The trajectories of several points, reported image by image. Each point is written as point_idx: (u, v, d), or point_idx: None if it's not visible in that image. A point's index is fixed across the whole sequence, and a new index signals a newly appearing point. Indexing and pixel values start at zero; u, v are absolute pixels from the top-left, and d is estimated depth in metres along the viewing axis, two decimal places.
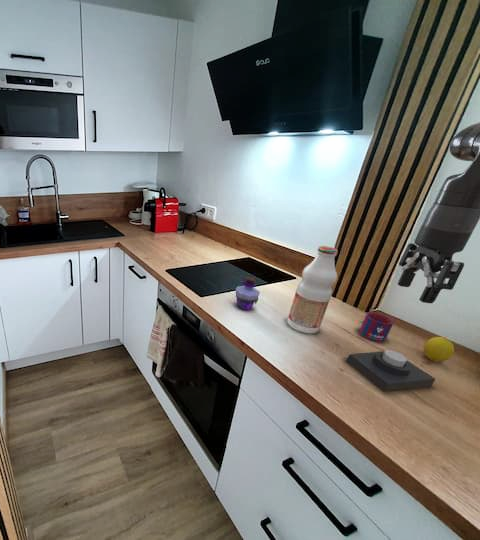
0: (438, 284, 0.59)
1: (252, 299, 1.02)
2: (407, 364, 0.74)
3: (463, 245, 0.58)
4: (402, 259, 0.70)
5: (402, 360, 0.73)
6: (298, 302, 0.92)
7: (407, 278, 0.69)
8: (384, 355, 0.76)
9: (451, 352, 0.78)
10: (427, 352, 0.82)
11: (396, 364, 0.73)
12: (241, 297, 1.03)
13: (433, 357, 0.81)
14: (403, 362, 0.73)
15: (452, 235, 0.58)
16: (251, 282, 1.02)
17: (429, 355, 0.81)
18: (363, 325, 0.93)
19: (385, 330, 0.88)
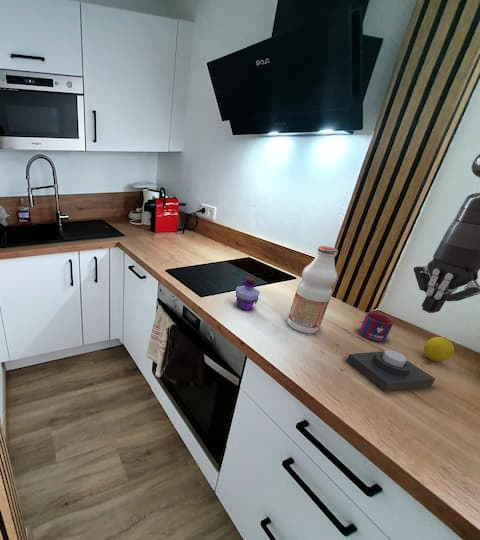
0: (450, 298, 0.64)
1: (252, 299, 1.02)
2: (407, 364, 0.74)
3: None
4: (420, 283, 0.69)
5: (402, 360, 0.73)
6: (298, 302, 0.92)
7: None
8: (384, 355, 0.76)
9: (451, 352, 0.78)
10: (427, 352, 0.82)
11: (396, 364, 0.73)
12: (241, 297, 1.03)
13: (433, 357, 0.81)
14: (403, 362, 0.73)
15: None
16: (251, 282, 1.02)
17: (429, 355, 0.81)
18: (363, 325, 0.93)
19: (385, 330, 0.88)
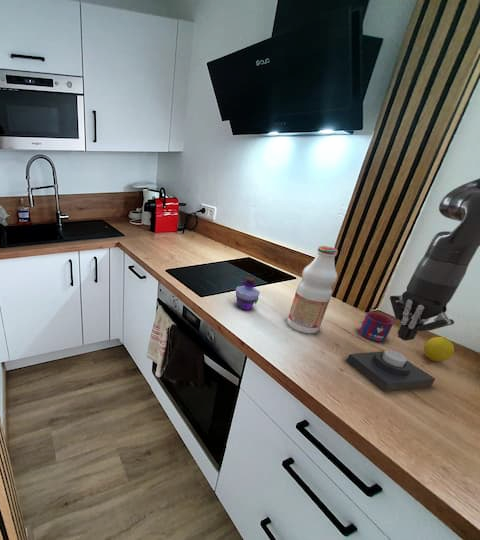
0: (422, 328, 0.68)
1: (252, 299, 1.02)
2: (407, 364, 0.74)
3: None
4: (396, 312, 0.73)
5: (402, 360, 0.73)
6: (298, 302, 0.92)
7: None
8: (384, 355, 0.76)
9: (451, 352, 0.78)
10: (427, 352, 0.82)
11: (396, 364, 0.73)
12: (241, 297, 1.03)
13: (433, 357, 0.81)
14: (403, 362, 0.73)
15: (449, 288, 0.63)
16: (251, 282, 1.02)
17: (429, 355, 0.81)
18: (363, 325, 0.93)
19: (385, 330, 0.88)
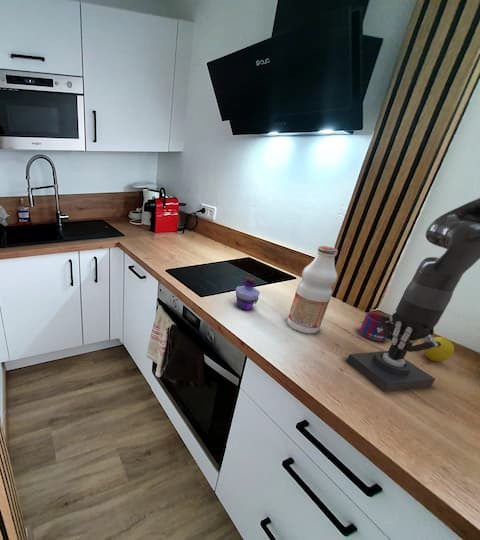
0: (411, 349, 0.70)
1: (252, 299, 1.02)
2: (407, 364, 0.74)
3: None
4: (386, 332, 0.76)
5: (401, 363, 0.73)
6: (298, 302, 0.92)
7: None
8: (383, 358, 0.76)
9: (451, 352, 0.78)
10: (427, 352, 0.82)
11: None
12: (241, 297, 1.03)
13: (433, 357, 0.81)
14: (402, 365, 0.73)
15: (436, 313, 0.65)
16: (251, 282, 1.02)
17: (429, 355, 0.81)
18: (363, 325, 0.93)
19: None
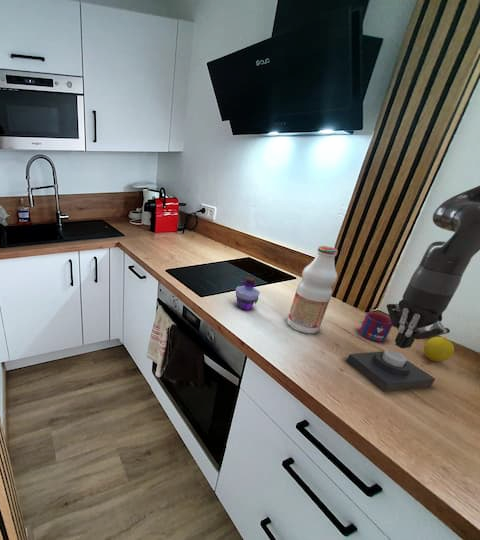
0: (418, 336, 0.68)
1: (252, 299, 1.02)
2: (407, 364, 0.74)
3: (448, 303, 0.65)
4: (393, 320, 0.74)
5: (402, 360, 0.73)
6: (298, 302, 0.92)
7: None
8: (384, 355, 0.76)
9: (451, 352, 0.78)
10: (427, 352, 0.82)
11: (396, 364, 0.73)
12: (241, 297, 1.03)
13: (433, 357, 0.81)
14: (403, 362, 0.73)
15: (444, 298, 0.64)
16: (251, 282, 1.02)
17: (429, 355, 0.81)
18: (363, 325, 0.93)
19: (385, 330, 0.88)
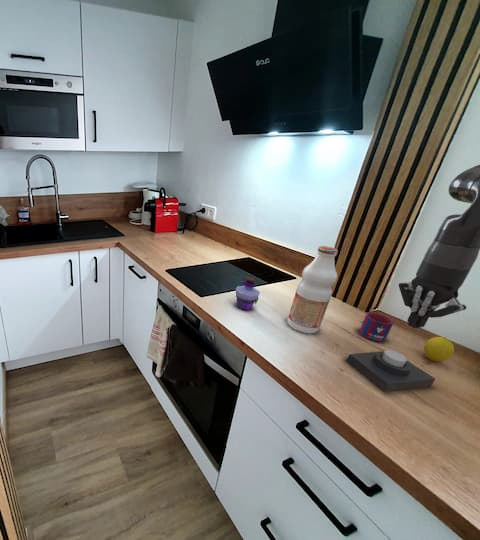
0: (433, 314, 0.66)
1: (252, 299, 1.02)
2: (407, 364, 0.74)
3: (464, 279, 0.63)
4: (405, 299, 0.72)
5: (402, 360, 0.73)
6: (298, 302, 0.92)
7: None
8: (384, 355, 0.76)
9: (451, 352, 0.78)
10: (427, 352, 0.82)
11: (396, 364, 0.73)
12: (241, 297, 1.03)
13: (433, 357, 0.81)
14: (403, 362, 0.73)
15: (461, 273, 0.61)
16: (251, 282, 1.02)
17: (429, 355, 0.81)
18: (363, 325, 0.93)
19: (385, 330, 0.88)
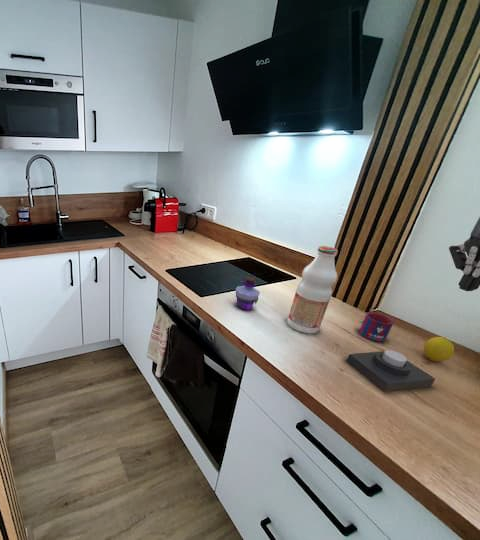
0: None
1: (252, 299, 1.02)
2: (407, 364, 0.74)
3: None
4: (457, 262, 0.70)
5: (402, 360, 0.73)
6: (298, 302, 0.92)
7: None
8: (384, 355, 0.76)
9: (451, 352, 0.78)
10: (427, 352, 0.82)
11: (396, 364, 0.73)
12: (241, 297, 1.03)
13: (433, 357, 0.81)
14: (403, 362, 0.73)
15: None
16: (251, 282, 1.02)
17: (429, 355, 0.81)
18: (363, 325, 0.93)
19: (385, 330, 0.88)
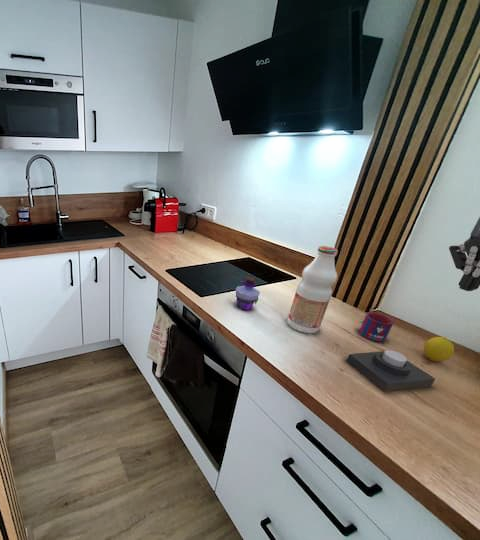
0: None
1: (252, 299, 1.02)
2: (407, 364, 0.74)
3: None
4: (457, 262, 0.70)
5: (402, 360, 0.73)
6: (298, 302, 0.92)
7: None
8: (384, 355, 0.76)
9: (451, 352, 0.78)
10: (427, 352, 0.82)
11: (396, 364, 0.73)
12: (241, 297, 1.03)
13: (433, 357, 0.81)
14: (403, 362, 0.73)
15: None
16: (251, 282, 1.02)
17: (429, 355, 0.81)
18: (363, 325, 0.93)
19: (385, 330, 0.88)
